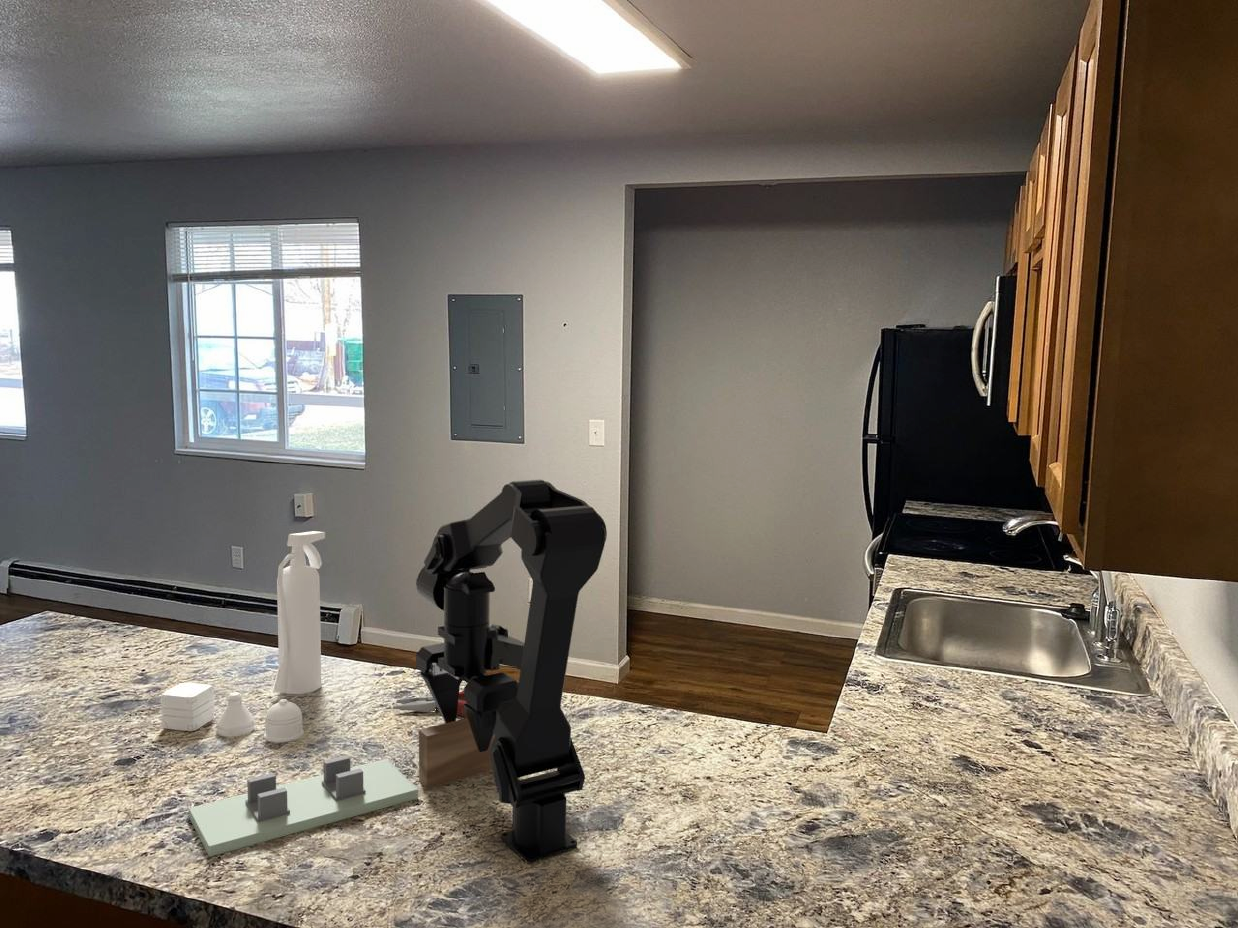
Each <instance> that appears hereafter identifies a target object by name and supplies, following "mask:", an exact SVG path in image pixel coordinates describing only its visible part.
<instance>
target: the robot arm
mask: <svg viewBox="0 0 1238 928" xmlns="http://www.w3.org/2000/svg"><path fill="white" fill-rule="evenodd" d="M607 534H608V532H607V525H606V523H605V521H604V519H603V517H602V516H601V515H600V514H599V513H598V512H597V511H596V510H595V509H594V508H593V507H592V506H590V505H589V504H588V503H587V502H586V501H584V500H583V499H581V498H579V497H576V496H573V495H572V494H569V493H566V492H564V491H561V490H559V489H557V488H556V487H555V486H554V485H553V484H552V483H551V482H549V481H545V480H543V479H531V480H529V479H528V480H517V481H516V480H515V481H510V482H509V483H507V484H504V486H503V487H502V489H501V492H500V493H499V494H498V495H496V496H495V497H494V498H493V499H492V500H491V501H489V502H488V503H487V504H486V505H484V506H483V507H482V508H481V509H480V510H478V511H477V512H476V513H474V515H472V516H471V517H470V518H468V519H467V518H466V519H462V520H458V521H453V522H449V523H446V524H443V525H441V526H440V527H439V529H438V530H437V533H436V535H435V537H434V539H433V541H432V544H431V547H430V549H429V551H428V553H427V555H426V558H425V559H424V566H423V567H422V568H421V570H420V571H419V573H418V575H417V578H416V579H415V581H416V582H415V583H416V590H417V593H418V594H419V595H420V596H421V597H422V598H423V599H424V600H426V601H428V603H430V604H432V605H434V606H435V607H437V608H439V609H440V610H442V611H443V625H442V626H437V635H438V636H440V637H441V638H443V642H442V643H436V644H430V645H423V646H422V647H420V649H419V650H418V651H417V652H416V654H415V669H417V670H418V671H420V677H421V678H422V679H423V681H424V683H425V684H426V687H427V688H428V690H429V692H430V694H431V696H433V699H434V701H435V702H436V705H437V707H438V709H439V711H438V712H439V713H440V715H441V717H442V720H443V721H444V724H445V723H449V722H453V721H457V716H458V715H457V708H458V699H459V692H460V688H461V684H462V683H463V681H464V682H465V683H466V684H465V685H464V687H463V690H464V697H465V700H466V702H467V704H464V708H465V711H466V714H467V717H468V720H469V723H470V726H471V730H472V733H473V736H474V739H475V742H476V745H477V747H478V750H479V751H480V752H484V751H487V750H488V748H489V745H490V742H491V739H492V736H493V734H495V737H494V740H493V742H492V747H491V757H492V764H493V771H492V772H493V778H494V783H495V787H496V792H497V793H498V801H499V802H500V803H501V804H508V805H511V807H512V829H510V830H508V831H505V832H502V833H501V834H500V839H501V840H502V841H503V842H504V843H505V844H506V845H507V846H508V847H509V848H510V849H512V851H514V852H515V853H516V854H517V855H518V856H519V857H520V858H521V859H523V860H524V861H525V862H526V863H529V864H531V863H532V864H533V863H535V862H537V861H541V860H544V859H546V858H549V857H553V856H556V855H558V854H560V853H563V852H566V851H569V850H572V849H574V848H575V849H576V848H577V847H578V841H577V839H575V838H574V837H573V836H571V835H570V834H569V833H567V797H566V794H570V793H572V792H576V791H577V792H579V791H583V788H584V785H585V784H584V783H585V780H586V775H585V771H584V769H583V766H582V764H581V762H580V758H579V756H578V752H577V751H576V747H575V745H574V742H573V740H572V737H571V736H572V726H571V724H570V723H569V720H568V719H567V717H566V715H565V713H564V711H563V710H562V699H563V698H562V697H563V692H564V687H565V686H564V685H565V681H566V675H567V674H566V673H567V669H568V668H567V667H568V662H569V661H568V660H569V656H570V649H571V644H572V636H573V630H574V626H575V625H574V624H575V618H576V612H577V606H578V601H579V594H580V591H581V590H582V589H583V587H584V586H585V585H587V583H588V581H589V580H590V579H591V578H592V577H593V576H594V574H595V573H596V572H597V571H598V569H599V565H600V563H601V559H602V556H603V552H604V548H605V545H606V540H607V536H608V535H607ZM510 539H512V541H514V543H515V544H516V545H517V546H518V547H519V548H520V549H521V552H520V553H521V557H520V558H521V560H522V562H523V565H524V567H525V568H526V570H527V572H528V574H529V576H530V579H531V580H532V587H531V594H530V599H529V600H530V601H529V609H528V616H527V623H526V630H525V635H524V636H525V637H524V642H523V641H521V640H520V639H518V638H515V637H513V636H510V635H509V631H508V628H506V627H504V626H502V625H500V624H499V625H498V624H494V623H493V624H492V625H491V626H490V617H491V616H490V606H491V605H490V604H491V603H490V600H491V599H490V596H491V595H490V594H491V593H494V592H495V590H496V588H495V585H494V583H493V581H492V580H490V579H489V578H488V576H487V573H486V572H485V571H481V572H479V571H478V572H472V571H471V570H479V569H486V568H489V567H492V566H494V565H495V563H496V562H497V561H498V559H499V558H500V557H501V556H502V554H503V552H504V551H503V548H502V545H503V544H504V543H505V542H506V541H508V540H510ZM500 665H502V666H507V667H513V668H517V670H519V671H520V672H519V678H518V681H517V680H516V679H514V678H512V676H510V675H508V674H507V673H505V672H497V673H491V674H487V671H491V672H492V671H496V670H500ZM467 717H466V718H467ZM554 769H556V770H554ZM550 770H554V771H550ZM546 771H550V772H546ZM542 772H546V773H542ZM537 773H538V775H535V776H534V774H537ZM539 773H542V774H539ZM531 775H533V776H531ZM526 776H531V777H526ZM522 777H526V778H523V779H519V778H522Z"/></svg>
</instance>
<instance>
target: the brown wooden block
mask: <svg viewBox="0 0 1238 928" xmlns="http://www.w3.org/2000/svg"><path fill="white" fill-rule="evenodd" d="M494 737H495V734H493V736H492V739H491V742H490V745H489V748H488V750H487V751H484V752H480V751H479V750H478V747H477V745H476V742H475V739H474V736H473V733H472V730H471V726H470V723H469V720H468V718H467V717H465V718H463V719H458V720H457V719H456V721H453V722H449V723H445V722H444V723H440V724H436V725H433V726H429V727H424V728H420V729H418V782H419V783H420V784H421V785H422V786H424V787H425V788H426V789H427V790H429V789H432V788H435V787H439V786H442V785H446V784H449V783H453V782H457V781H460V780H463V779H464V780H465V779H468V778H471V776H472V777H475V776H479V775H482V774H486V773H489V772H494V771H493V764H492V757H491V747H492V742H493V740H494Z"/></svg>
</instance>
